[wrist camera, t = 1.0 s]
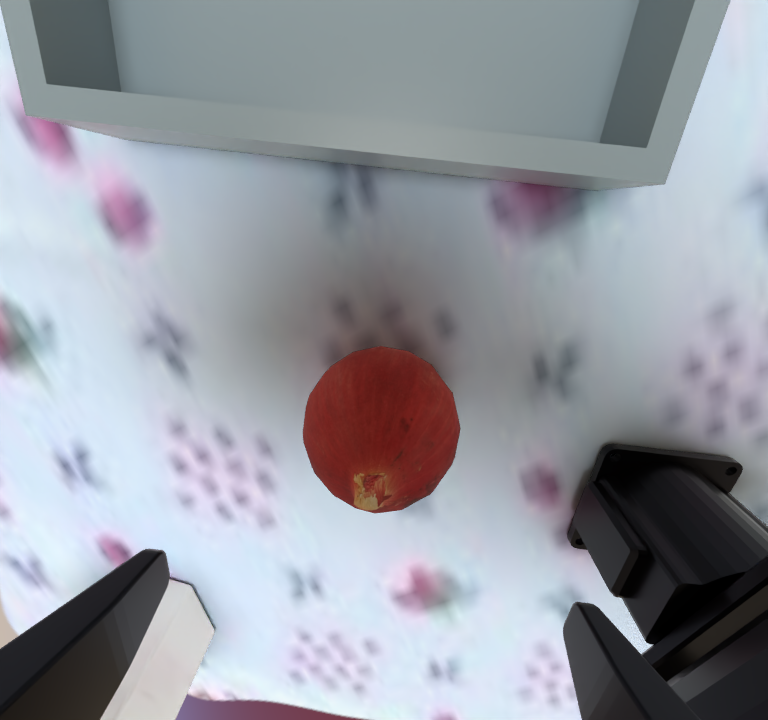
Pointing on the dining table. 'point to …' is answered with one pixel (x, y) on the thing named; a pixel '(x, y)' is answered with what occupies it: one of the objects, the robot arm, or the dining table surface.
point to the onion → (381, 429)
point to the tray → (381, 80)
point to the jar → (164, 659)
